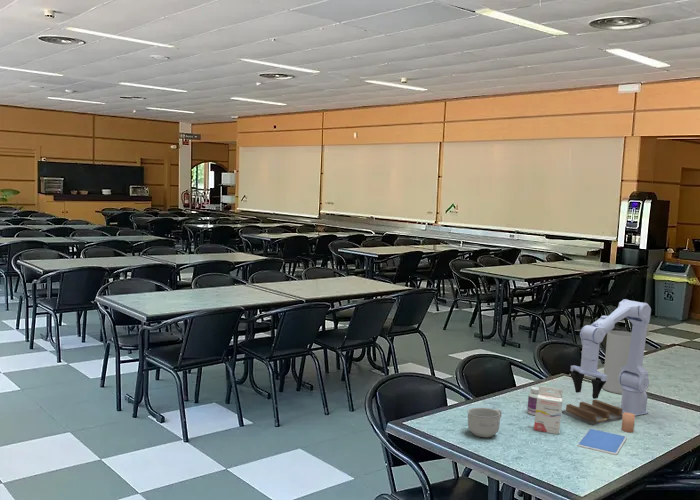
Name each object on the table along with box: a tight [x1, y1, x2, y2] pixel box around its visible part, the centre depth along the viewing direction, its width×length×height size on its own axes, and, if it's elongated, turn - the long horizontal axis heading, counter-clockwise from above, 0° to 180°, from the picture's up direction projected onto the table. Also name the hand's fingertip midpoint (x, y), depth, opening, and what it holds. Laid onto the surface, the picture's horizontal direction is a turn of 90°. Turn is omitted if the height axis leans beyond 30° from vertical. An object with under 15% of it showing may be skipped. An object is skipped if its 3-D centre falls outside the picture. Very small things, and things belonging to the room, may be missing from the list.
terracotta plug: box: [621, 412, 636, 434], centre depth 238 cm, size 4×4×6 cm
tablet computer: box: [576, 428, 627, 456], centre depth 225 cm, size 19×13×1 cm, turn 148°
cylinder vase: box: [602, 330, 632, 395], centre depth 289 cm, size 12×12×25 cm
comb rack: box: [561, 399, 623, 426], centre depth 253 cm, size 19×14×4 cm
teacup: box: [467, 407, 502, 438], centre depth 226 cm, size 14×11×8 cm
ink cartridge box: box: [533, 385, 563, 435], centre depth 233 cm, size 9×5×15 cm, turn 71°
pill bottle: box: [526, 386, 539, 416], centre depth 251 cm, size 5×5×10 cm
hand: (586, 395), depth 244 cm, fingers open, 7 cm apart
